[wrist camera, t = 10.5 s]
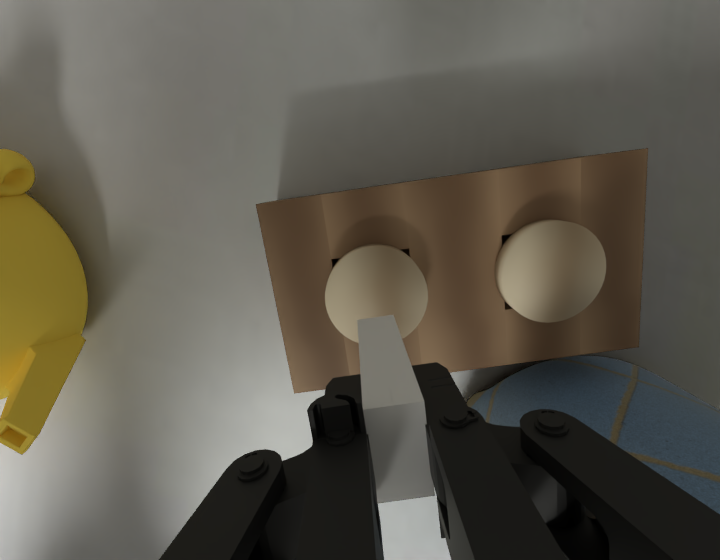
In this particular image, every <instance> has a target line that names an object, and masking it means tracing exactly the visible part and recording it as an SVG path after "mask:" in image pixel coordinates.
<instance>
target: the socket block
mask: <svg viewBox="0 0 720 560" xmlns="http://www.w3.org/2000/svg"><path fill="white" fill-rule="evenodd" d="M647 159H648V148H645V149H637V150H630V151H622V152H614V153H606V154H598V155H590V156H583V157H576V158H569V159H562V160H555V161H548V162H541V163H534V164H527V165H520V166H513V167H506V168H499V169H492V170H485V171H478V172H471V173H464V174H457V175H450V176H443V177H436V178H429V179H422V180H415V181H408V182H401V183H394V184H387V185H380V186H373V187H366V188H359V189H352V190H345V191H338V192H332V193H325V194H318V195H311V196H304V197H297V198H290V199H283V200H276V201H271V202H266V203H260V204H256V208H257V212H258V217H259V222H260V227H261V232H262V237H263V242H264V247H265V252H266V257H267V262H268V267H269V271H270V276H271V281H272V286H273V291H274V296H275V301H276V306H277V311H278V316H279V321H280V326H281V330H282V335H283V340H284V345H285V350H286V355H287V360H288V365H289V370H290V375H291V380H292V385H293V389H294V393H301V392H308V391H316V390H323V389H326V386H327V384H328V383H329V382H330V381H331V380H332V378H335V377H342V376H350V375H357V374H360V357H359V343H357V342H354V341H352V340H350V339H349V338H347V337H345V336H344V335H343V334H342V333H340V331H339V330H338V329H337V328H336V327H335V326H334V324H333V323H332V321H331V319H330V318H329V315H328V313H327V309H326V305H325V290H326V285H327V281H328V278H329V275H330V273H331V271H332V269H333V267H334V266H335V264H336V263H337V262H338V258H341V257H343V256H344V255H345V254H346V253H348V252H349V251H351V250H353V249H355V248H357V247H360V246H363V245H368V244H384V245H389V246H392V247H395V248H397V249H399V250H401V251H402V252H404V253H406V254H407V255H408V256H409V257H410V258H411V259H412V260H413V261H414V262H415V264H416V265H417V266H418V267H419V269H420V270H421V272H422V274H423V276H424V278H425V281H426V284H427V289H428V302H427V307H426V311H425V313H424V316H423V318H422V320H421V322H420V323H419V324H418V326H417V327H416V328H415V329H414V330H413V331H412V332H411V333H410V334H409V335H408V336H406V337H405V338H403V339H402V340H403V343H404V346H405V349H406V352H407V354H408V357H409V360H410V363H411V366H412V365H420V364H427V363H434V362H438V363H439V364H441V365H442V366H444V367H446V368H447V369H448V371H449V373H450V372H457V371H465V370H472V369H479V368H487V367H494V366H502V365H509V364H517V363H524V362H532V361H539V360H546V359H554V358H561V357H569V356H576V355H584V354H591V353H598V352H606V351H613V350H621V349H628V348H636V347H639V331H640V309H641V288H642V266H643V245H644V223H645V202H646V180H647ZM547 219H553V220H561V221H567V222H572V223H576V224H579V225H581V226H583V227H585V228H587V229H588V230H589V231H591V232H592V233H593V234H594V235H595V236H596V237H597V239H598V240H599V241H600V243H601V245H602V247H603V250H604V253H605V257H606V274H605V279H604V282H603V285H602V287H601V289H600V291H599V293H598V294H597V296H596V297H595V299H594V300H593V301H592V302H591V303H590V304H589V305H588V306H587V307H586V308H585V309H584V310H583V311H581V312H580V313H578V314H577V315H575V316H573V317H571V318H568V319H566V320H563V321H558V322H550V323H546V322H537V321H533V320H530V319H528V318H526V317H524V316H522V315H521V314H519V313H518V312H517V311H515V310H514V309H513V308H512V307H510V306H509V305H508V304H507V303H506V302H505V301H504V300H503V298H502V297H501V295H500V294H499V291H498V289H497V286H496V282H495V264H496V260H497V257H498V254H499V252H500V250H501V248H502V236H501V235H507V234H514V233H515V232H516V231H517V230H519V229H520V228H522V227H523V226H525V225H527V224H529V223H532V222H535V221H539V220H547Z"/></svg>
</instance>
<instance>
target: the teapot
mask: <svg viewBox="0 0 720 560" xmlns="http://www.w3.org/2000/svg"><path fill="white" fill-rule="evenodd" d="M34 180H35V172H34V168H33V166H32V164H31V163H30V161H28V160H27V159H26V158H25V157H24V156H23V155H21V154H19V153H17V152H15V151H12V150H8V149H0V399H3V398H6V397H8V398H7V401H6V403H5V406H4V409H3V412H2V415H1V418H0V443H2V444H4V445H5V446H7V447H9V448H11V449H13V450H14V451H16V452H18V453H20V454H23V453H25V452H26V451H27V450H28V448H29V447H30V446H31V444H32V443H33V441H34V440H35V439H36V437H37V436H38V435H39V433H40V431H41V429H42V427H43V425H44V423H45V421H46V419H47V417H48V415H49V413H50V411H51V409H52V407H53V405H54V403H55V401H56V399H57V397H58V395H59V393H60V391H61V389H62V387H63V385H64V383H65V381H66V379H67V377H68V375H69V373H70V371H71V369H72V367H73V365H74V363H75V361H76V359H77V357H78V355H79V353H80V351H81V349H82V347H83V345H84V343H85V341H86V340H85V339H84V338H83V337H82V336H81V334H82V332H83V328H84V325H85V322H86V316H87V310H88V292H87V284H86V278H85V274H84V270H83V267H82V264H81V261H80V259H79V256H78V254H77V252H76V250H75V248H74V246H73V244H72V243H71V241H70V239H69V238H68V236H67V235H66V233H65V232H64V231H63V229H62V228H61V226H60V225H59V224H58V223H57V222H56V221H55V220H54V219H53V217H52V216H51V215H50V214H49V213H48V212H47V211H46V210H45V209H44V208H43V207H42V206H41V205H39V204H38V203H37V202H36V201H35V200H34V199H33V198H31V197H30V196H28V195H27V194H26V193H25V192H26V191H28V190H29V189H30V188H31V187H32V185H33V183H34Z"/></svg>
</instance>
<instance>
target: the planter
mask: <svg viewBox="0 0 720 560" xmlns="http://www.w3.org/2000/svg"><path fill="white" fill-rule="evenodd" d="M466 404H467V406H468V407H471V408H473V409H475V410H477V411H478V412H479V413H480V414H481V415H482V416H483V418H484V420H485V421H486V422H487V423H491V424H494V425H501V426H513V427H520V419H521V417H522V416H523V415H524V414H526V413H527V412H529V411H532V410H538V409H551V410H556V411H560V412H564V413H567V414H569V415H571V416H573V417H575V418H576V419H578V420H579V421H581V422H582V423H584V424H585V425H587V426H588V427H590V428H591V429H593V430H594V431H596V432H597V433H599V434H600V435H602V436H603V437H605V438H606V439H608V440H609V441H611V442H612V443H614V444H615V445H617V446H618V447H620V448H621V449H623V450H624V451H626V452H627V453H629V454H630V455H632V456H633V457H635V458H636V459H638V460H639V461H641V462H642V463H644V464H645V465H647V466H648V467H650V468H651V469H653V470H654V471H656V472H657V473H659V474H660V475H662V476H663V477H665V478H666V479H668V480H669V481H671V482H672V483H674V484H675V485H677V486H678V487H680V488H681V489H683V490H684V491H686V492H687V493H689V494H690V495H692V496H693V497H695V498H696V499H698V500H699V501H701V502H702V503H704V504H705V505H707V506H708V507H710V508H711V509H713V510H714V511H716V512H717V513H719V514H720V410H718V409H717V408H715V407H713V406H711V405H709V404H708V403H706V402H704V401H702V400H700V399H699V398H697V397H695V396H693V395H692V394H690V393H688V392H686V391H685V390H683V389H681V388H679V387H677V386H676V385H674V384H672V383H670V382H669V381H667V380H665V379H663V378H662V377H660V376H658V375H656V374H654V373H652V372H650V371H648V370H646V369H643V368H641V367H639V366H636V365H634V364H631V363H628V362H625V361H621V360H617V359H613V358H608V357H600V356H571V357H563V358H558V359H553V360H549V361H545V362H541V363H538V364H536V365H533V366H530V367H528V368H525V369H523V370H521V371H519V372H517V373H515V374H513V375H511V376H509V377H508V378H506V379H504V380H503V381H501V382H499V383H498V384H496V385H495V386H493V387H491V388H489V389H488V390H485V391H482V392H478V393H476V394H474V395H473V396H472V397H471V398H470V399H469V400H468V401H467V403H466Z"/></svg>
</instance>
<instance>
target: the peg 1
mask: <svg viewBox="0 0 720 560" xmlns="http://www.w3.org/2000/svg"><path fill="white" fill-rule="evenodd" d="M427 302H428V289H427V284H426V281H425V278H424V276H423V274H422V272H421V270H420V269H419V267H418V266H417V265H416V264H415V262H414V261H413V260H412V259H411V258H410V257H409V256H408V255H407V254H406V253H404V252H402V251H401V250H399V249H397V248H395V247H392V246H389V245H384V244H368V245H363V246H360V247H357V248H355V249H353V250H351V251H349V252H348V253H346V254H345V255H344V256H343V257H341V258H340V259H339V260H338V262H337V263H336V264H335V266H334V267H333V269H332V271H331V273H330V275H329V278H328V281H327V285H326V290H325V305H326V309H327V313H328V315H329V318H330V319H331V321H332V323H333V324H334V326H335V327H336V328H337V329H338V330H339V331H340V333H342V334H343V335H344V336H345V337H347V338H349V339H350V340H352V341H354V342H357V343H359V341H358V324H357V320H360V319H367V318H374V317H381V316H388V315H394V318H395V321H396V324H397V326H398V329H399V332H400V335H401V338H402V339H403V338H405V337H406V336H408V335H409V334H410V333H411V332H412V331H413V330H414V329H415V328H416V327H417V326H418V324H419V323H420V322H421V320H422V318H423V316H424V313H425V311H426V307H427Z"/></svg>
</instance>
